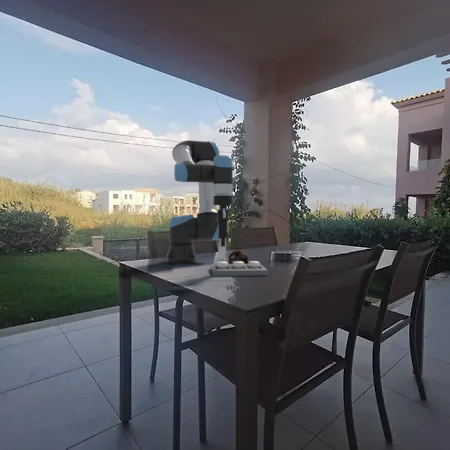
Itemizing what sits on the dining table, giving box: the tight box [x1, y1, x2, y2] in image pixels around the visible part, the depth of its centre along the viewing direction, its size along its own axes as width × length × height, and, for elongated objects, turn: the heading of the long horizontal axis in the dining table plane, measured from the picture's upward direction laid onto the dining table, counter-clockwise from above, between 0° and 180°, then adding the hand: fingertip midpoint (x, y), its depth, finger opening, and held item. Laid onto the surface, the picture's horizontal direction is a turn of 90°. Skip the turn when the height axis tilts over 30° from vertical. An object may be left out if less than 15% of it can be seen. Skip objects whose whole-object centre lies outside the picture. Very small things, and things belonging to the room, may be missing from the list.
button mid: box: [233, 261, 245, 269], centre depth 123 cm, size 4×4×2 cm
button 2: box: [248, 260, 261, 269], centre depth 124 cm, size 4×4×2 cm
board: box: [210, 263, 269, 277], centre depth 123 cm, size 14×21×3 cm, turn 96°
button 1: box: [216, 260, 229, 269], centre depth 122 cm, size 4×4×2 cm
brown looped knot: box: [227, 249, 249, 264], centre depth 145 cm, size 12×10×8 cm
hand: (222, 254), depth 122 cm, fingers closed
